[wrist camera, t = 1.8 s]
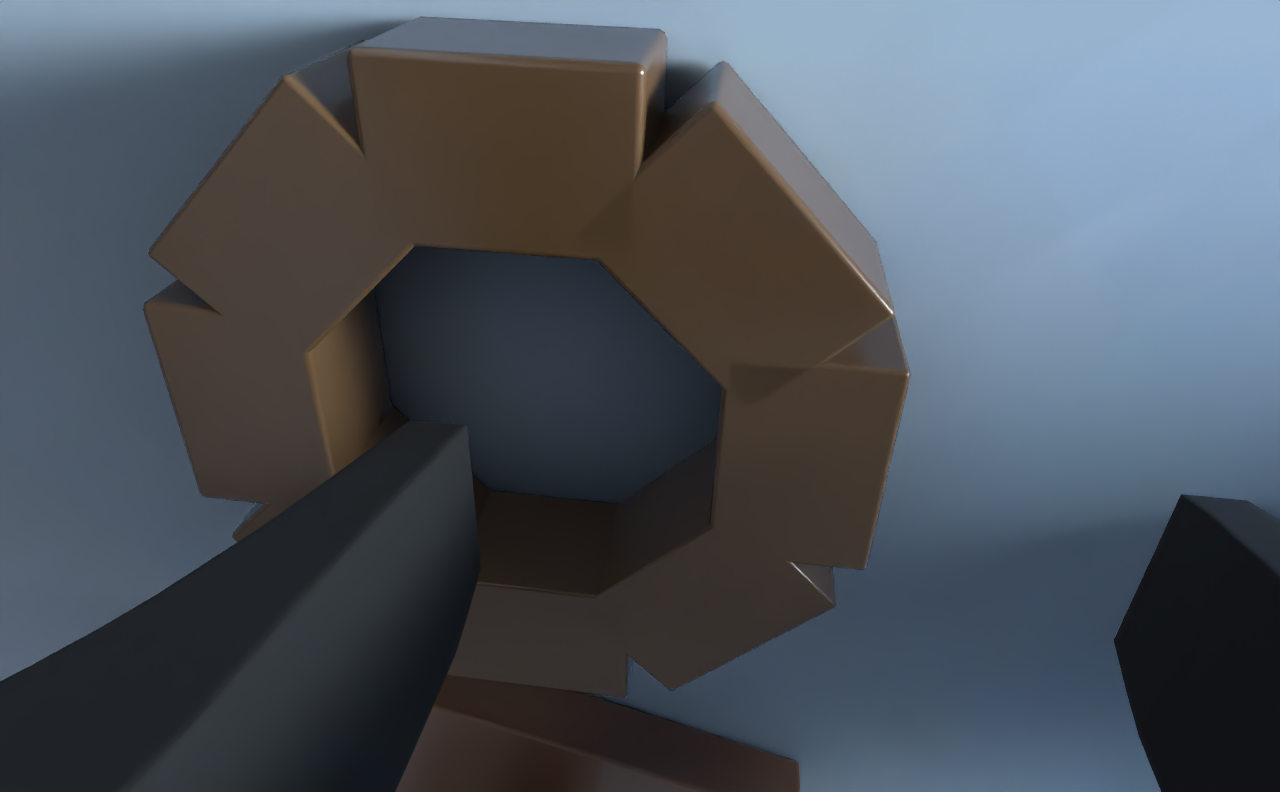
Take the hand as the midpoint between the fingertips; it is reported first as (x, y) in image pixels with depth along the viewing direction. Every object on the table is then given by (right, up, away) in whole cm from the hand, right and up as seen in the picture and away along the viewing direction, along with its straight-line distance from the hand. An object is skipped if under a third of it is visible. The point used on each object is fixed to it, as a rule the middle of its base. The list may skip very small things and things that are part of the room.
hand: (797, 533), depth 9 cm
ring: (-3, +2, +3) cm, 5 cm away
